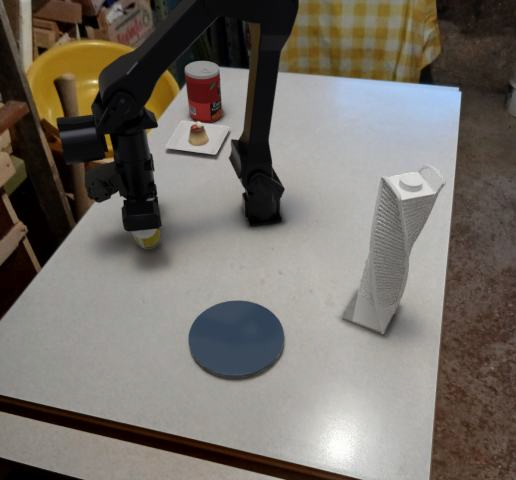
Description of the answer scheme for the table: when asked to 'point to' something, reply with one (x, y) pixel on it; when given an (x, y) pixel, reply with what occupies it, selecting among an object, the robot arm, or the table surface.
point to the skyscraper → (392, 247)
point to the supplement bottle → (147, 238)
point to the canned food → (203, 91)
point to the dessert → (197, 137)
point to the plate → (236, 339)
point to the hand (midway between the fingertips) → (146, 226)
